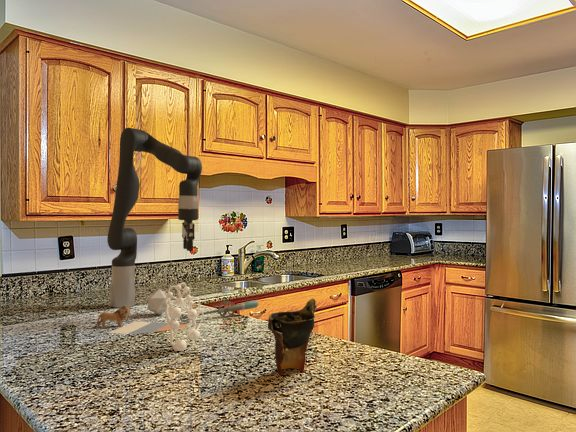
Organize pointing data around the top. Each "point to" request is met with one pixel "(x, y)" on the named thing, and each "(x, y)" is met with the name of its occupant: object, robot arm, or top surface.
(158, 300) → the die
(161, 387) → the top surface
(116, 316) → the lion figurine
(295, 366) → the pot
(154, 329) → the track board
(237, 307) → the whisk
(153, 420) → the top surface
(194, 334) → the molecule model
